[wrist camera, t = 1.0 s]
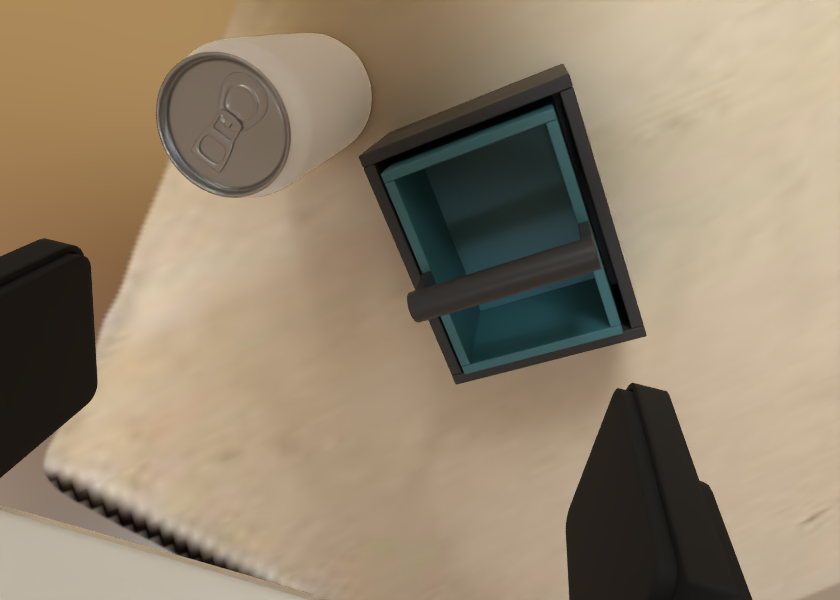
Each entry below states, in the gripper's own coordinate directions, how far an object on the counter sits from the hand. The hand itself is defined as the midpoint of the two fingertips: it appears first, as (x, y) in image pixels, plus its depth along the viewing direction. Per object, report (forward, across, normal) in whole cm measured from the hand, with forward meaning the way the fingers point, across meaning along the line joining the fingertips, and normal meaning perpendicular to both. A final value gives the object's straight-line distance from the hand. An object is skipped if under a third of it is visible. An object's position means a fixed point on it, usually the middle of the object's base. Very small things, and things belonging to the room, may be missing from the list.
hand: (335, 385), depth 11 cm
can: (+27, +9, 0) cm, 28 cm away
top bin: (+26, -3, +4) cm, 26 cm away
